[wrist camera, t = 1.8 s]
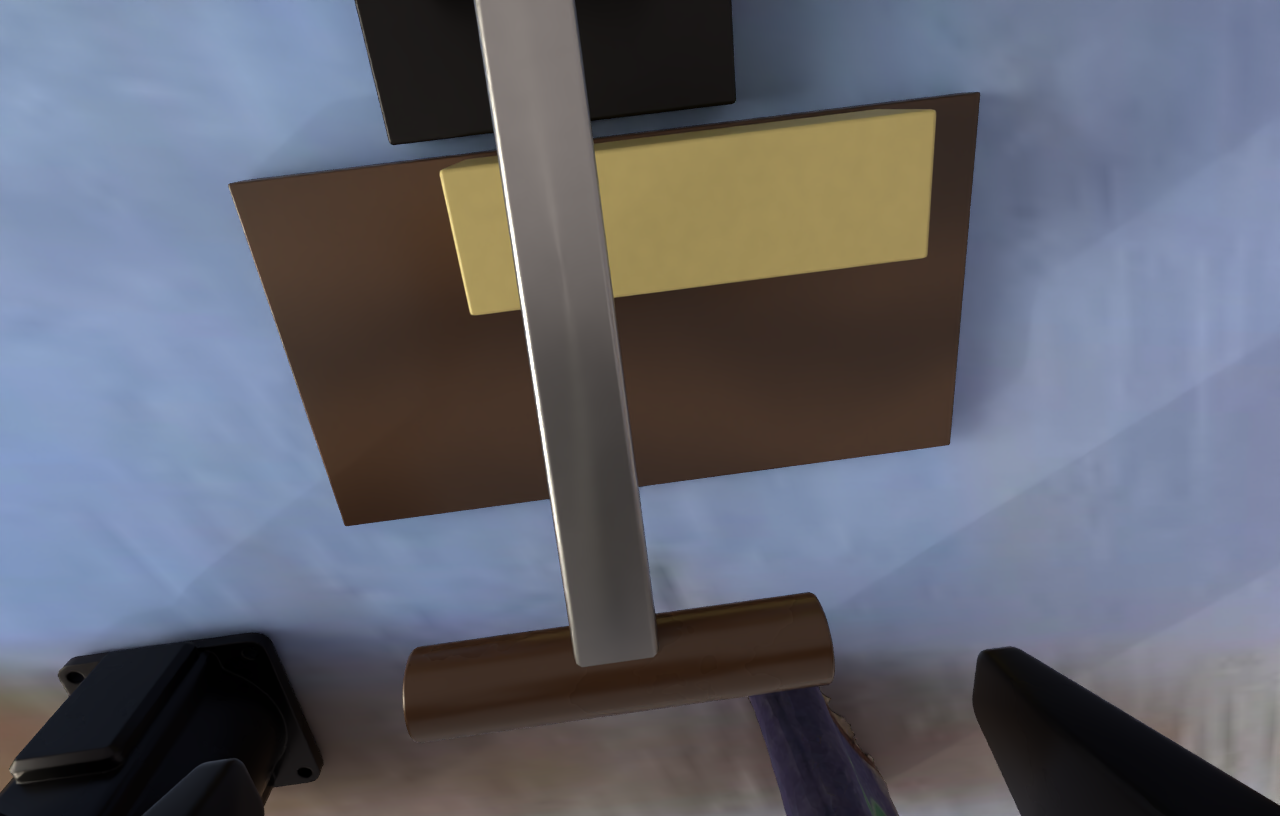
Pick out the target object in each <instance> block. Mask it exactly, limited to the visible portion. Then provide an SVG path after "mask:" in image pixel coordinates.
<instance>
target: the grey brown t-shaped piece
mask: <svg viewBox="0 0 1280 816" xmlns="http://www.w3.org/2000/svg"><path fill="white" fill-rule="evenodd" d="M474 5H475V12H476V19H477V25H478V32H479V38H480V45H481V51H482V58H483V64H484V71H485V78H486V84H487V91H488V97H489V104H490V110H491V117H492V123H493V130H494V136H495V143H496V150H497V156H498V163H499V169H500V176H501V182H502V189H503V195H504V202H505V209H506V215H507V222H508V228H509V235H510V241H511V248H512V254H513V261H514V267H515V274H516V281H517V287H518V294H519V300H520V307H521V313H522V320H523V326H524V333H525V340H526V346H527V353H528V359H529V366H530V372H531V379H532V385H533V392H534V398H535V405H536V412H537V418H538V425H539V431H540V438H541V444H542V451H543V457H544V464H545V471H546V477H547V484H548V490H549V497H550V503H551V510H552V516H553V523H554V530H555V536H556V543H557V549H558V556H559V562H560V569H561V575H562V582H563V588H564V595H565V602H566V608H567V615H568V621H569V626H563V627H556V628H549V629H542V630H534V631H527V632H520V633H513V634H506V635H499V636H491V637H484V638H477V639H470V640H463V641H456V642H448V643H441V644H434V645H427V646H420V647H417V648H415V649H414V650H413V651H412V652H411V653H410V655H409V657H408V660H407V663H406V667H405V672H404V679H403V711H404V718H405V722H406V726H407V730H408V732H409V735H410V737H411V738H412V739H413V740H414V741H415V742H418V743H424V742H431V741H438V740H445V739H452V738H459V737H466V736H473V735H480V734H487V733H494V732H501V731H508V730H515V729H522V728H529V727H536V726H543V725H550V724H557V723H564V722H571V721H578V720H585V719H592V718H599V717H606V716H613V715H620V714H627V713H634V712H641V711H648V710H655V709H662V708H669V707H676V706H683V705H690V704H697V703H704V702H711V701H718V700H725V699H732V698H739V697H746V696H753V695H760V694H767V693H774V692H781V691H788V690H795V689H802V688H809V687H816V686H823V685H829V684H830V683H832V681H833V679H834V673H835V659H834V650H833V644H832V638H831V634H830V630H829V626H828V622H827V619H826V616H825V613H824V611H823V608H822V606H821V604H820V602H819V600H818V599H817V597H816V596H815V595H814V594H813V593H810V592H807V593H799V594H792V595H785V596H778V597H771V598H764V599H756V600H749V601H742V602H735V603H728V604H721V605H713V606H706V607H699V608H692V609H685V610H678V611H670V612H663V613H656V614H655V609H654V601H653V594H652V586H651V578H650V571H649V563H648V555H647V548H646V540H645V532H644V525H643V517H642V509H641V502H640V494H639V486H638V479H637V471H636V464H635V456H634V448H633V441H632V433H631V425H630V418H629V410H628V402H627V395H626V387H625V379H624V372H623V364H622V356H621V349H620V341H619V334H618V326H617V318H616V311H615V303H614V295H613V288H612V280H611V272H610V265H609V257H608V249H607V242H606V234H605V227H604V219H603V211H602V204H601V196H600V188H599V181H598V173H597V165H596V158H595V150H594V142H593V135H592V127H591V119H590V112H589V104H588V97H587V89H586V81H585V74H584V66H583V58H582V51H581V43H580V35H579V28H578V20H577V12H576V5H575V0H474Z"/></svg>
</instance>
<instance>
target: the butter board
mask: <svg viewBox="0 0 1280 816" xmlns="http://www.w3.org/2000/svg"><path fill="white" fill-rule="evenodd" d="M979 102H980V93H979V92H968V93H957V94H949V95H940V96H932V97H924V98H916V99H908V100H899V101H891V102H883V103H875V104H867V105H858V106H850V107H842V108H834V109H826V110H817V111H809V112H801V113H793V114H785V115H776V116H768V117H760V118H752V119H744V120H735V121H727V122H719V123H711V124H703V125H694V126H686V127H678V128H670V129H661V130H653V131H645V132H637V133H629V134H620V135H612V136H604V137H596V138H593V142H594V144H596V143H604V142H612V141H621V140H629V139H637V138H645V137H653V136H661V135H670V134H678V133H686V132H694V131H702V130H711V129H719V128H727V127H735V126H743V125H752V124H760V123H768V122H776V121H784V120H792V119H801V118H809V117H817V116H825V115H833V114H842V113H850V112H858V111H866V110H874V109H933V110H935V111H936V126H935V142H934V158H933V174H932V190H931V206H930V221H929V237H928V253H927V257H924V258H921V259H913V260H905V261H898V262H890V263H882V264H874V265H866V266H858V267H851V268H843V269H835V270H827V271H819V272H812V273H804V274H796V275H788V276H780V277H772V278H765V279H757V280H749V281H741V282H733V283H725V284H718V285H710V286H702V287H694V288H686V289H679V290H671V291H663V292H655V293H647V294H639V295H632V296H624V297H616V298H614V303H615V311H616V318H617V326H618V334H619V341H620V349H621V356H622V364H623V372H624V379H625V387H626V395H627V402H628V410H629V418H630V425H631V433H632V441H633V448H634V456H635V464H636V471H637V479H638V486H639V487H641V486H648V485H656V484H663V483H670V482H678V481H685V480H693V479H700V478H707V477H715V476H722V475H730V474H737V473H745V472H752V471H759V470H767V469H774V468H782V467H789V466H796V465H804V464H811V463H819V462H826V461H834V460H841V459H848V458H856V457H863V456H871V455H878V454H885V453H893V452H900V451H908V450H915V449H922V448H930V447H937V446H945V445H949V444H950V437H951V425H952V414H953V402H954V391H955V379H956V368H957V356H958V344H959V333H960V321H961V310H962V298H963V287H964V275H965V263H966V252H967V240H968V229H969V217H970V206H971V194H972V183H973V171H974V159H975V148H976V136H977V125H978V113H979ZM490 156H497V150H489V151H481V152H473V153H465V154H456V155H448V156H440V157H432V158H424V159H415V160H407V161H399V162H391V163H383V164H374V165H366V166H358V167H350V168H342V169H333V170H325V171H317V172H309V173H301V174H292V175H284V176H276V177H268V178H260V179H251V180H243V181H238V182H234V183H230V184H229V185H228V186H229V189H230V192H231V195H232V198H233V201H234V204H235V207H236V210H237V213H238V216H239V218H240V221H241V224H242V227H243V230H244V233H245V236H246V239H247V242H248V245H249V248H250V251H251V253H252V256H253V259H254V262H255V265H256V268H257V271H258V274H259V277H260V280H261V283H262V285H263V288H264V291H265V294H266V297H267V300H268V303H269V306H270V309H271V312H272V315H273V318H274V320H275V323H276V326H277V329H278V332H279V335H280V338H281V341H282V344H283V347H284V350H285V353H286V355H287V358H288V361H289V364H290V367H291V370H292V373H293V376H294V379H295V382H296V385H297V388H298V390H299V393H300V396H301V399H302V402H303V405H304V408H305V411H306V414H307V417H308V420H309V422H310V425H311V428H312V431H313V434H314V437H315V440H316V443H317V446H318V449H319V452H320V455H321V457H322V460H323V463H324V466H325V469H326V472H327V475H328V478H329V481H330V484H331V487H332V490H333V492H334V495H335V498H336V501H337V504H338V507H339V510H340V513H341V516H342V519H343V522H344V525H345V526H352V525H359V524H366V523H374V522H381V521H389V520H396V519H404V518H411V517H418V516H426V515H433V514H441V513H448V512H455V511H463V510H470V509H478V508H485V507H492V506H500V505H507V504H515V503H522V502H530V501H537V500H544V499H550V497H549V490H548V484H547V477H546V471H545V464H544V457H543V451H542V444H541V438H540V431H539V425H538V418H537V412H536V405H535V398H534V392H533V385H532V379H531V372H530V366H529V359H528V353H527V346H526V340H525V333H524V326H523V320H522V313H521V310H514V311H506V312H499V313H491V314H483V315H472V314H471V313H470V311H469V306H468V302H467V297H466V293H465V288H464V283H463V279H462V274H461V270H460V265H459V261H458V256H457V252H456V247H455V242H454V238H453V233H452V229H451V224H450V220H449V215H448V211H447V206H446V201H445V197H444V192H443V188H442V183H441V179H440V171H441V170H442V169H444V168H447V167H449V166H451V165H454V164H456V163H459V162H461V161H463V160H466V159H473V158H481V157H490Z"/></svg>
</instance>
